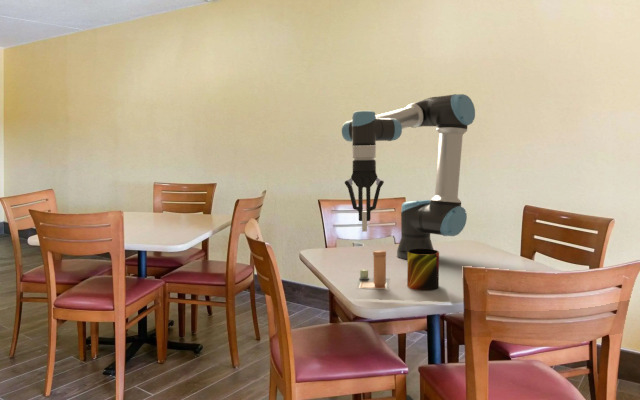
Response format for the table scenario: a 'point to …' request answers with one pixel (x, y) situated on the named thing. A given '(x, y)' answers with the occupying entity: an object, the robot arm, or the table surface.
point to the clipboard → (371, 284)
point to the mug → (423, 269)
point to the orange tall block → (379, 268)
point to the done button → (363, 273)
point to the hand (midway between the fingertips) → (364, 230)
